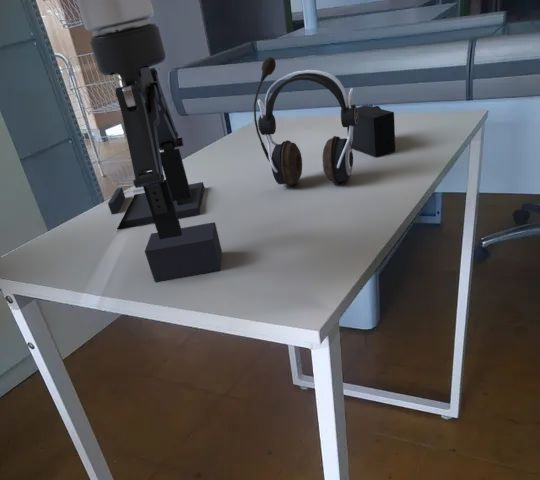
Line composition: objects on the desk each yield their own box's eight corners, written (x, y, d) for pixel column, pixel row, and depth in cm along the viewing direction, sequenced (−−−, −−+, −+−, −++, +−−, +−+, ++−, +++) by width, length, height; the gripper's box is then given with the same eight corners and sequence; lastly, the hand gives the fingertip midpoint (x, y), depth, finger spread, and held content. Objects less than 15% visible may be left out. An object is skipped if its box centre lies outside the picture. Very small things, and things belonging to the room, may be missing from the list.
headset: (258, 194, 94) (235, 66, 83) (272, 179, 100) (252, 56, 89) (356, 189, 88) (345, 49, 77) (365, 173, 94) (356, 41, 83)
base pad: (95, 233, 92) (87, 212, 90) (112, 205, 104) (105, 186, 102) (199, 214, 91) (193, 193, 89) (204, 188, 103) (199, 168, 101)
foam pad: (154, 282, 73) (144, 251, 70) (160, 262, 78) (151, 233, 75) (220, 270, 72) (212, 239, 70) (222, 252, 77) (214, 221, 74)
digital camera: (401, 150, 101) (400, 109, 97) (376, 157, 100) (373, 117, 96) (372, 140, 109) (370, 103, 105) (348, 147, 108) (345, 110, 104)
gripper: (137, 29, 48) (198, 249, 60) (169, 13, 69) (210, 181, 81) (55, 47, 49) (132, 262, 61) (112, 26, 69) (161, 190, 81)
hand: (177, 216), depth 71 cm, fingers open, 13 cm apart
